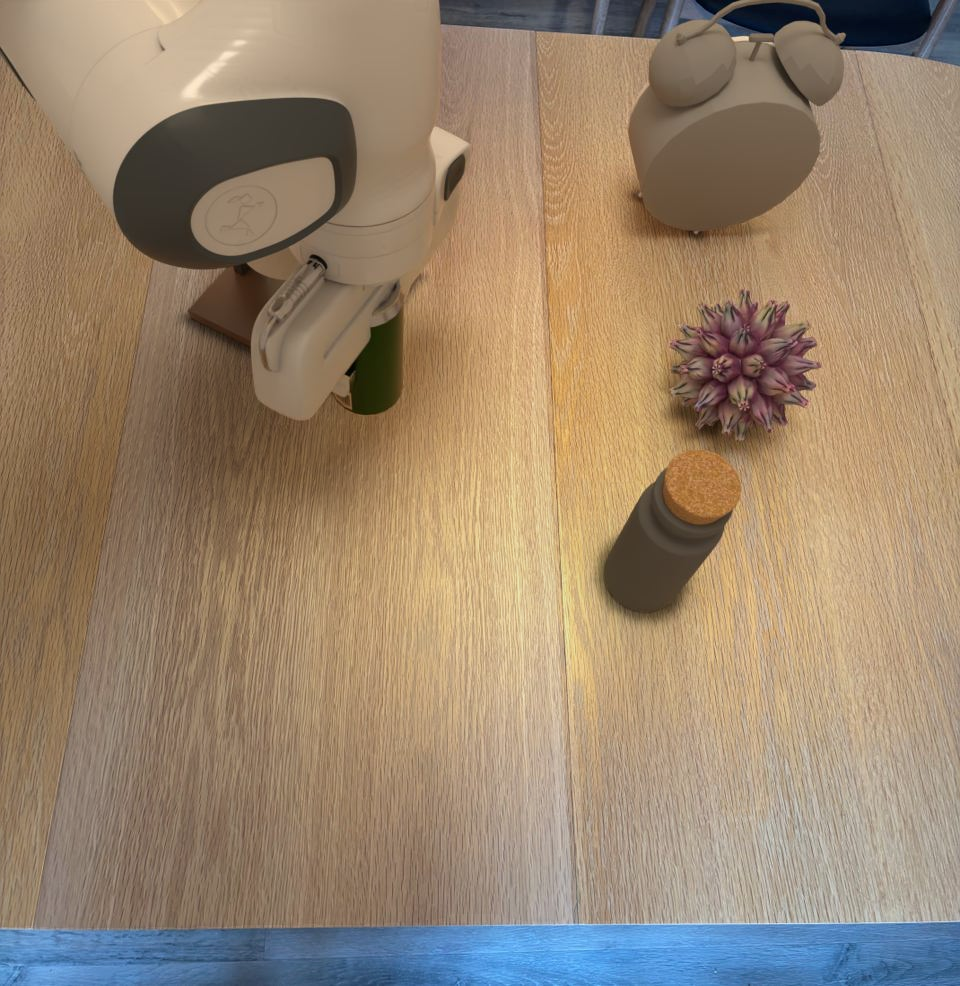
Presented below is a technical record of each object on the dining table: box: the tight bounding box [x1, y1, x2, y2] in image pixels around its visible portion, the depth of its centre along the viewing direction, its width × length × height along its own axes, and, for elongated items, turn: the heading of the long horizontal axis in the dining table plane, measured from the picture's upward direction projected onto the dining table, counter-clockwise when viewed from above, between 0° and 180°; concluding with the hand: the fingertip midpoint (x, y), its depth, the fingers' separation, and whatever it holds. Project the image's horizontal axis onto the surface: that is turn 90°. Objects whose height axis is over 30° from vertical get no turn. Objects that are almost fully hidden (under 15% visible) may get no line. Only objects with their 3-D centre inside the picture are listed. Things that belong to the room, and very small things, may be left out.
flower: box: [668, 288, 822, 442], centre depth 68 cm, size 12×12×12 cm
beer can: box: [332, 279, 405, 418], centre depth 61 cm, size 5×5×12 cm
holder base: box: [187, 263, 286, 348], centre depth 72 cm, size 14×14×8 cm
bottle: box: [603, 448, 742, 613], centre depth 58 cm, size 6×6×15 cm
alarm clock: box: [626, 0, 847, 235], centre depth 74 cm, size 16×9×22 cm, turn 97°
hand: (365, 353), depth 62 cm, fingers closed on beer can, 5 cm apart
